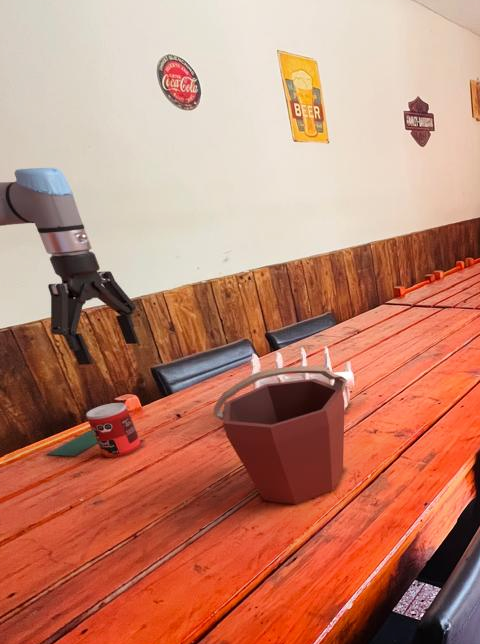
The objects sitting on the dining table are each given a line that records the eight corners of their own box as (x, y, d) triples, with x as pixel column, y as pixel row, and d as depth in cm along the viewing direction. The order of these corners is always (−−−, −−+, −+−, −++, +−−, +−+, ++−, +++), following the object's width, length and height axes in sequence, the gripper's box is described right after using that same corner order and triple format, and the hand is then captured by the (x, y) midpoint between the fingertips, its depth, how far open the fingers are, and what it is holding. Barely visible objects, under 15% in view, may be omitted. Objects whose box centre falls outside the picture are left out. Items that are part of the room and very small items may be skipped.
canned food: (98, 453, 124) (80, 412, 119) (132, 439, 130) (116, 400, 125) (111, 461, 120) (93, 419, 115) (147, 446, 126) (131, 406, 121)
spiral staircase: (357, 425, 139) (260, 434, 134) (356, 378, 149) (266, 384, 145) (349, 379, 124) (240, 387, 120) (348, 331, 135) (248, 336, 131)
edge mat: (47, 454, 125) (47, 454, 125) (95, 428, 137) (95, 427, 137) (74, 456, 123) (74, 455, 123) (120, 429, 136) (120, 428, 136)
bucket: (363, 448, 119) (344, 346, 108) (359, 503, 99) (336, 384, 88) (253, 463, 115) (223, 359, 104) (227, 523, 96) (186, 402, 85)
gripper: (33, 263, 91) (80, 373, 101) (132, 243, 113) (163, 335, 123) (-4, 264, 92) (46, 374, 101) (101, 244, 114) (135, 336, 124)
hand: (110, 353), depth 112 cm, fingers open, 13 cm apart
